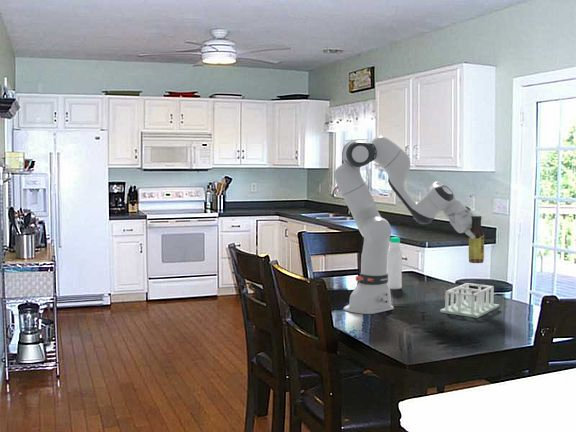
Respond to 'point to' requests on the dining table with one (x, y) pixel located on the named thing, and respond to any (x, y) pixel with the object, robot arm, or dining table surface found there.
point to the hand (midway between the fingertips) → (477, 237)
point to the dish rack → (469, 301)
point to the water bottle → (394, 264)
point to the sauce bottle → (476, 241)
